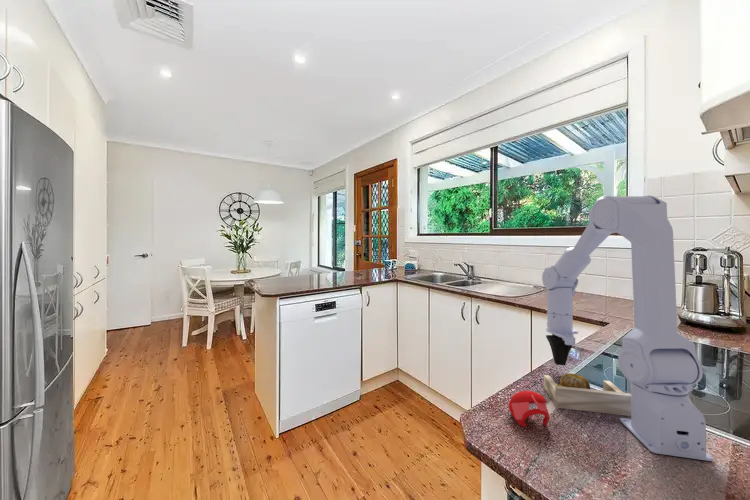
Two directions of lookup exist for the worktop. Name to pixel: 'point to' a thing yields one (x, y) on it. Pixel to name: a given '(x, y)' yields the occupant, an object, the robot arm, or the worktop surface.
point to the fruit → (573, 381)
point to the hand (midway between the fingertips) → (559, 364)
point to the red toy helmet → (527, 406)
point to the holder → (590, 398)
